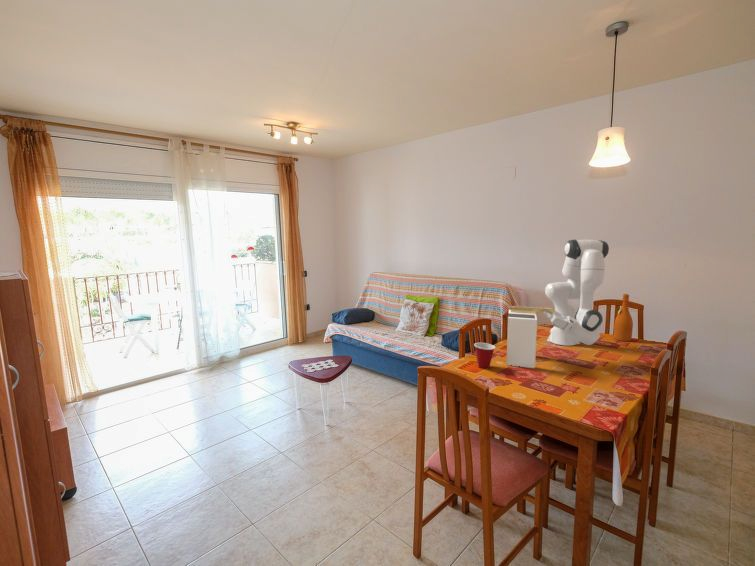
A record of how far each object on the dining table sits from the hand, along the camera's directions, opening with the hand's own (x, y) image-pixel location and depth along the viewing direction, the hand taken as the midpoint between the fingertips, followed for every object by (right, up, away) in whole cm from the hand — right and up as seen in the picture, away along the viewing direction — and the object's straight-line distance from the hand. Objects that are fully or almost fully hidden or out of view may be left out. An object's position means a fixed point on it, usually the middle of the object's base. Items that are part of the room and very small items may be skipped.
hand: (543, 310), depth 196 cm
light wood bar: (-5, -2, +2) cm, 6 cm away
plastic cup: (-34, -30, -6) cm, 46 cm away
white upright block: (-12, -28, +3) cm, 30 cm away
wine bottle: (+68, -22, +35) cm, 80 cm away
